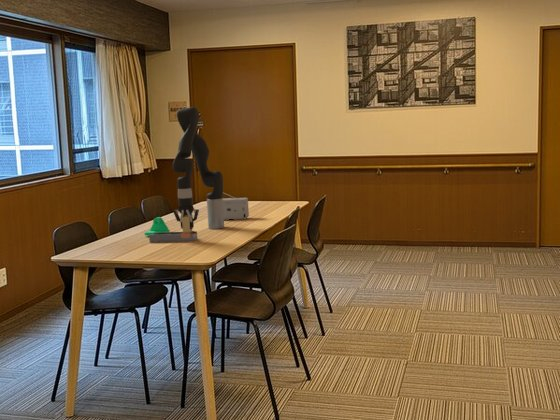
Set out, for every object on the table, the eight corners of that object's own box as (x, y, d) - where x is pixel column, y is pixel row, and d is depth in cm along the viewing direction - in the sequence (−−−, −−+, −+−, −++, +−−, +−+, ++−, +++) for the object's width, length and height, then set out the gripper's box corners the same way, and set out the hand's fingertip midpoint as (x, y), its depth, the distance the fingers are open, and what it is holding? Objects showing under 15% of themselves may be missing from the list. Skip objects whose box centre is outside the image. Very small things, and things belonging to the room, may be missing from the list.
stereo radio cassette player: (249, 217, 428) (247, 186, 426) (247, 219, 420) (245, 187, 417) (216, 218, 430) (214, 187, 428) (214, 220, 422) (212, 189, 420)
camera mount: (144, 237, 376) (142, 219, 374) (151, 234, 383) (149, 216, 381) (162, 237, 371) (161, 219, 370) (169, 235, 378) (168, 217, 377)
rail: (154, 239, 365) (154, 231, 365) (197, 238, 361) (196, 230, 361) (149, 242, 357) (148, 234, 357) (193, 241, 353) (192, 233, 353)
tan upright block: (185, 234, 360) (183, 214, 358) (192, 234, 359) (191, 214, 358) (183, 235, 356) (181, 215, 355) (190, 235, 355) (189, 215, 354)
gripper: (200, 195, 357) (202, 227, 360) (174, 196, 360) (176, 228, 362) (196, 197, 350) (198, 229, 353) (170, 198, 352) (172, 230, 355)
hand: (187, 228), depth 357 cm, fingers closed on tan upright block, 4 cm apart
